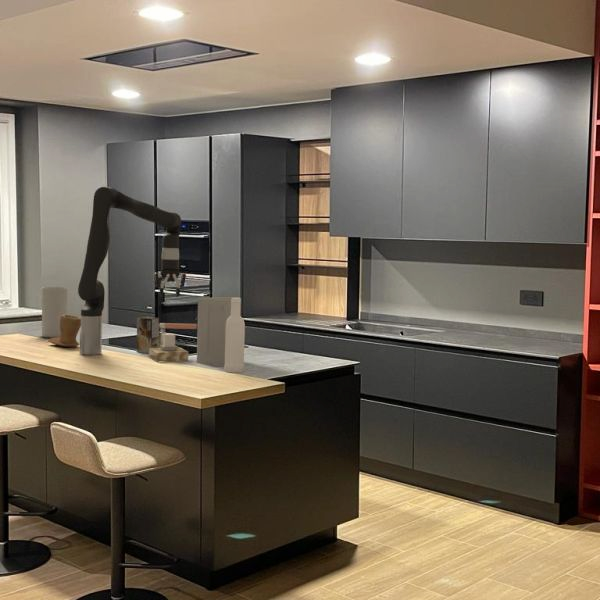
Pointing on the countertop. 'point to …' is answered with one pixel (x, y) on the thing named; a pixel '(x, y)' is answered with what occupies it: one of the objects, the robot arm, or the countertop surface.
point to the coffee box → (148, 333)
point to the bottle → (234, 339)
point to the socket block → (168, 355)
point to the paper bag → (212, 329)
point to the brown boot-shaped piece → (67, 331)
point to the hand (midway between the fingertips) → (169, 296)
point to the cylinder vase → (53, 310)
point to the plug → (168, 343)
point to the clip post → (162, 335)
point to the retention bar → (178, 326)
